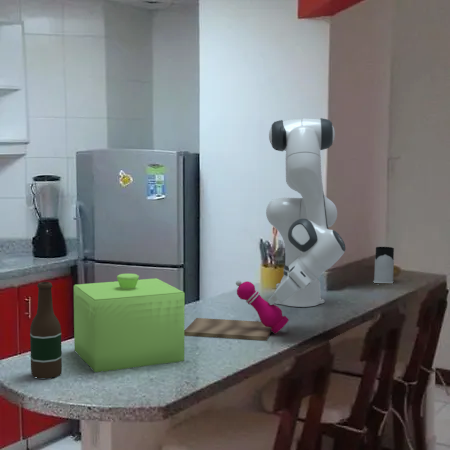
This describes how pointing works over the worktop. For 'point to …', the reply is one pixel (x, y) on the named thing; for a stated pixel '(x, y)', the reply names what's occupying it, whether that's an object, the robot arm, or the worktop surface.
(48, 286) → the beer bottle
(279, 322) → the pepper mill
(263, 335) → the walnut board
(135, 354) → the canister
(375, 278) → the glass holder
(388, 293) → the worktop surface
